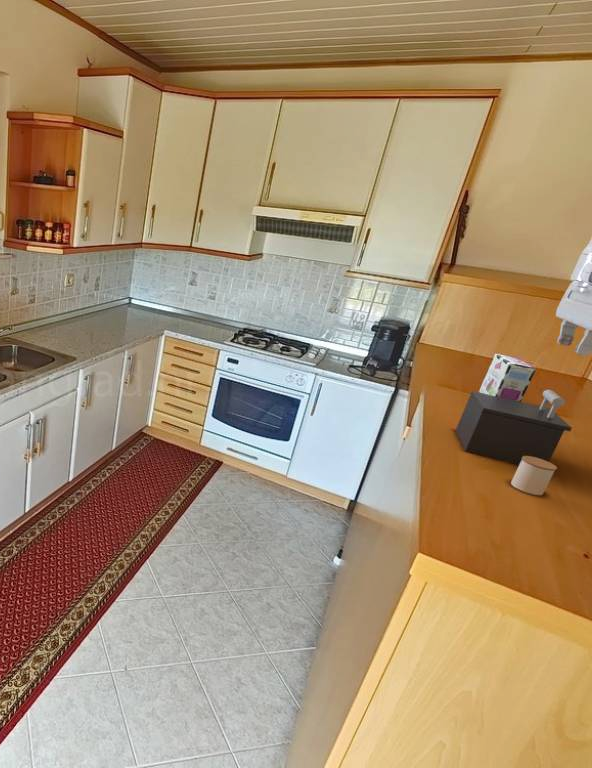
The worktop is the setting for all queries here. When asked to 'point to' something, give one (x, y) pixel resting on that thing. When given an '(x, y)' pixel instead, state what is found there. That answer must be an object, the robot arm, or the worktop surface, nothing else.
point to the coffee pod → (533, 475)
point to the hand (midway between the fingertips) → (571, 349)
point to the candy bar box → (507, 377)
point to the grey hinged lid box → (505, 436)
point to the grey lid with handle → (525, 409)
